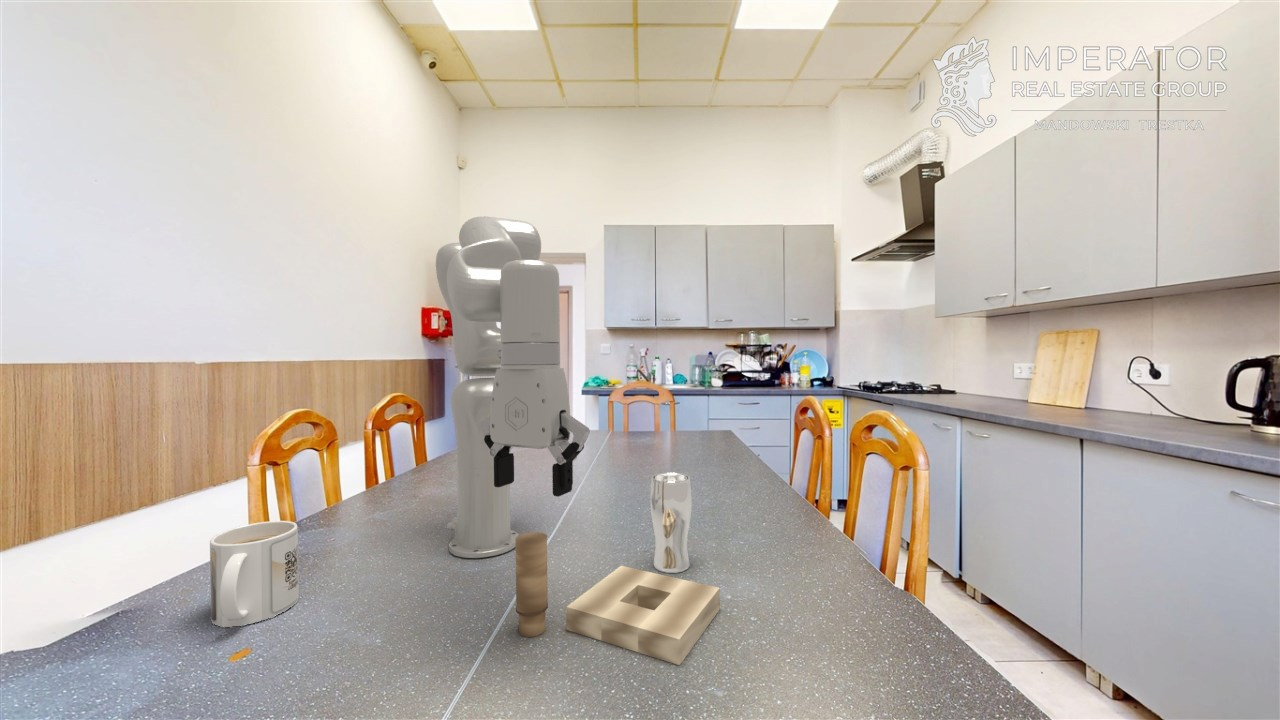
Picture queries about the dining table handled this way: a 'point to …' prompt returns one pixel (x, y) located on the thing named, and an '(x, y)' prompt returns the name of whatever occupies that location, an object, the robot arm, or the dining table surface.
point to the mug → (253, 572)
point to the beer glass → (671, 520)
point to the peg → (531, 583)
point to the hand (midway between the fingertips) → (532, 489)
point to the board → (645, 613)
